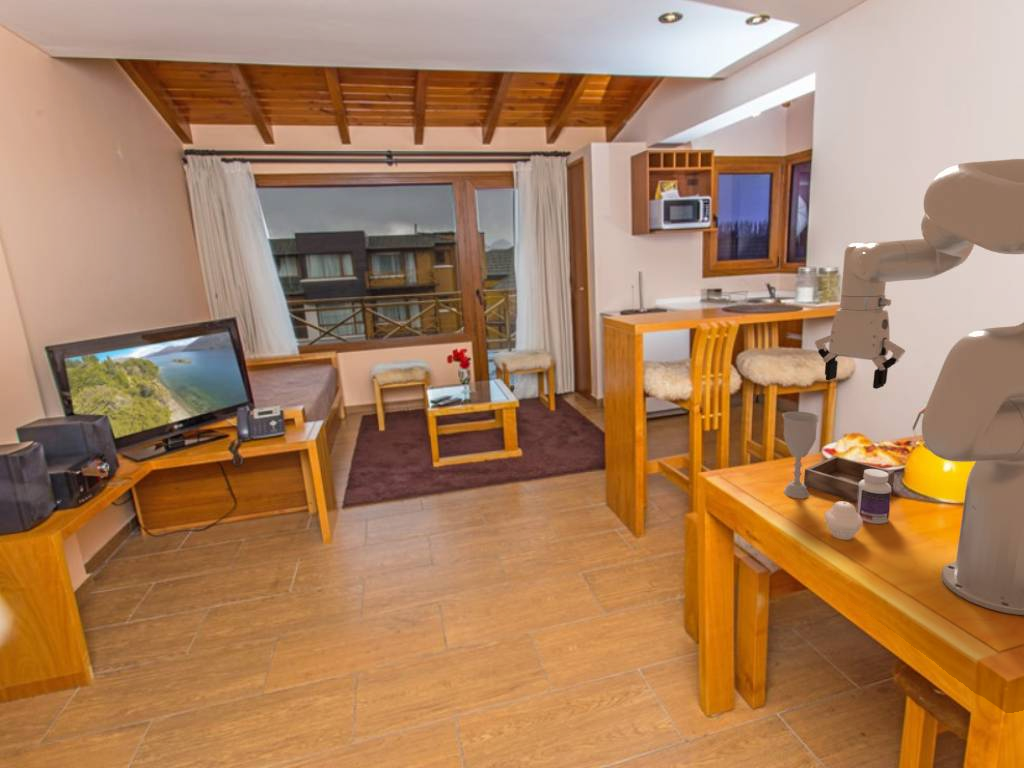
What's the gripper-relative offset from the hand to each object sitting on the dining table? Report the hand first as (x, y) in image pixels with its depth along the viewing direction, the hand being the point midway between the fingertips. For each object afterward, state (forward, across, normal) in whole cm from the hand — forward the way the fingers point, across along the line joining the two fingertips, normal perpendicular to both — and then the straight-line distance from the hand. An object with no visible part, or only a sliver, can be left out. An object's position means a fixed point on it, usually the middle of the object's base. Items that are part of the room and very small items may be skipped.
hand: (853, 383), depth 115 cm
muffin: (+24, -11, +22) cm, 34 cm away
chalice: (+24, +4, +12) cm, 27 cm away
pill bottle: (+24, -11, +11) cm, 29 cm away
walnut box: (+24, -1, +1) cm, 24 cm away
